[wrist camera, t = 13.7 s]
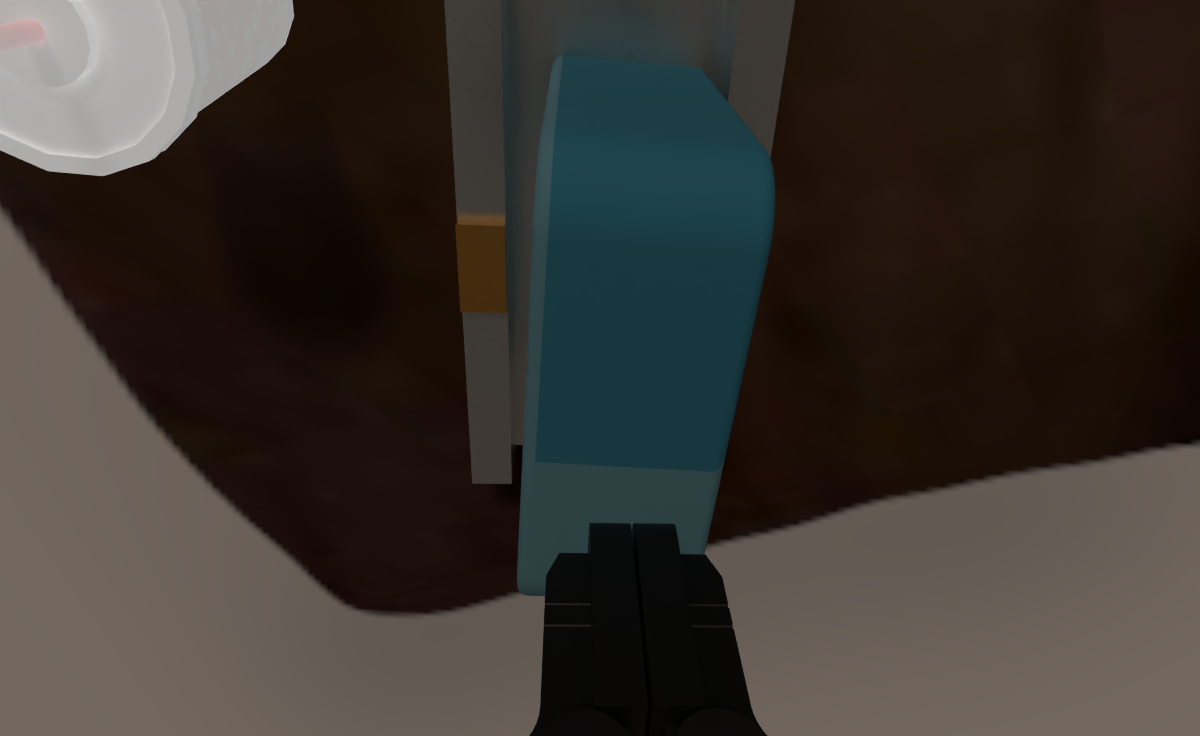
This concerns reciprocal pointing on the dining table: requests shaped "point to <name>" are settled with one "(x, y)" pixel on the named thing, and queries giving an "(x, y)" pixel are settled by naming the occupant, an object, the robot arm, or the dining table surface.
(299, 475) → the dining table surface
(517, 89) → the grey tray
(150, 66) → the beverage cup
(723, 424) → the data package
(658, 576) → the robot arm
